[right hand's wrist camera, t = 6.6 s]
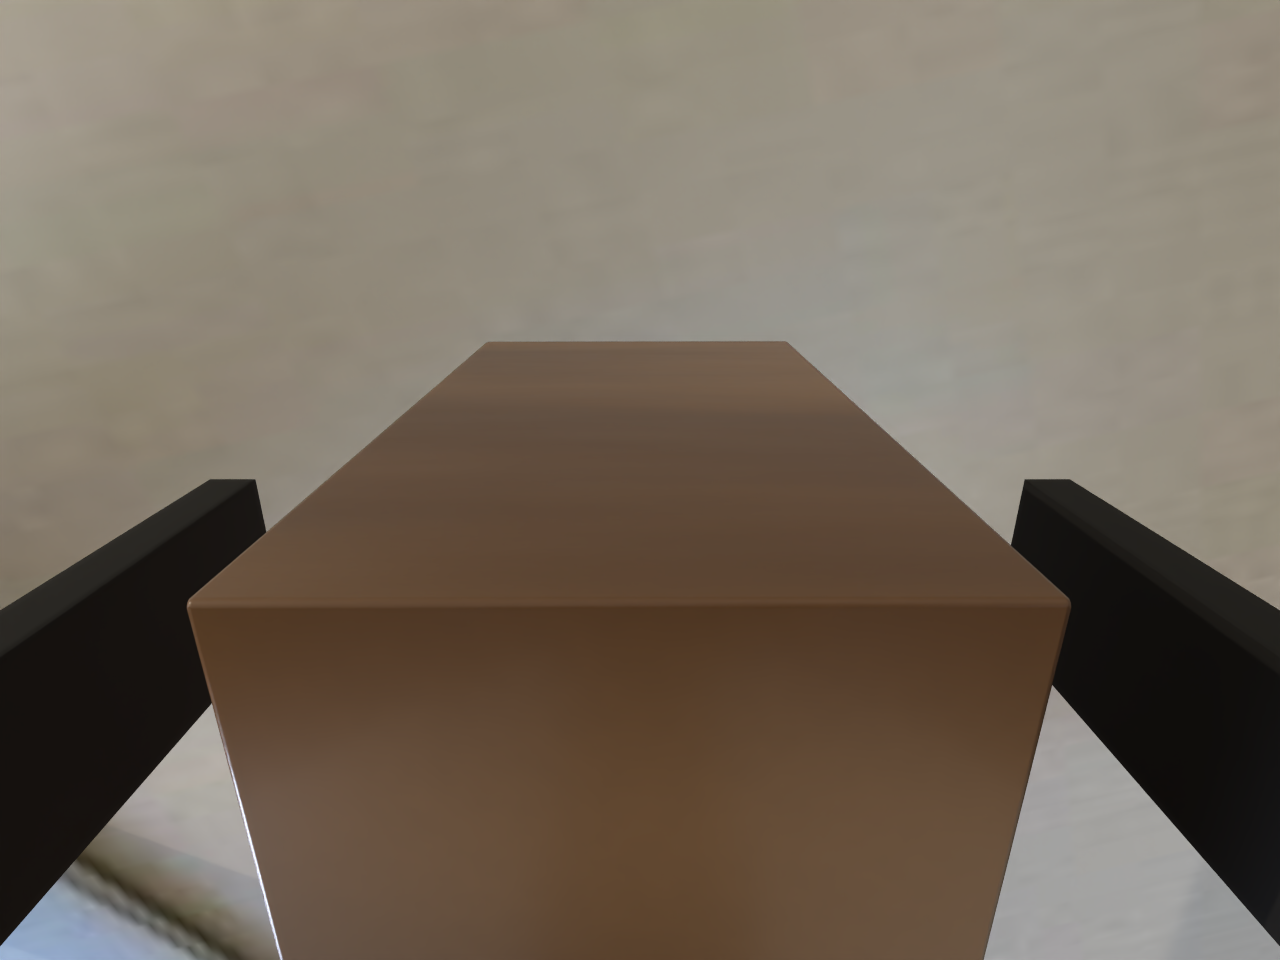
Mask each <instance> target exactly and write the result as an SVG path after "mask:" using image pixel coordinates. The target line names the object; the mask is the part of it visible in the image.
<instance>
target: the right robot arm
mask: <svg viewBox="0 0 1280 960" xmlns="http://www.w3.org/2000/svg"><path fill="white" fill-rule="evenodd" d="M265 533H266V529H265V524H264V519H263V514H262V509H261V505H260V500H259V495H258V490H257V485H256V480H255V479H210V480H208V481H207V482H205V483H204V484H202V485H200V486H199V487H197V488H196V489H194V490H192V491H191V492H189V493H188V494H186V495H184V496H183V497H181V498H180V499H178V500H176V501H175V502H173V503H172V504H170V505H168V506H167V507H165V508H164V509H162V510H160V511H159V512H157V513H156V514H154V515H152V516H151V517H149V518H148V519H146V520H144V521H143V522H141V523H140V524H138V525H136V526H135V527H133V528H132V529H130V530H128V531H127V532H125V533H124V534H122V535H120V536H119V537H117V538H116V539H114V540H112V541H111V542H109V543H108V544H106V545H104V546H103V547H101V548H100V549H98V550H96V551H95V552H93V553H92V554H90V555H88V556H87V557H85V558H84V559H82V560H80V561H79V562H77V563H76V564H74V565H72V566H71V567H69V568H68V569H66V570H64V571H63V572H61V573H59V574H58V575H56V576H55V577H53V578H51V579H50V580H48V581H47V582H45V583H43V584H42V585H40V586H39V587H37V588H35V589H34V590H32V591H31V592H29V593H27V594H26V595H24V596H23V597H21V598H19V599H18V600H16V601H15V602H13V603H11V604H10V605H8V606H7V607H5V608H3V609H2V610H0V946H1V945H2V944H3V942H4V941H5V940H6V939H7V938H8V937H9V936H10V934H11V933H12V932H13V931H14V930H15V929H16V927H17V926H18V925H19V924H20V923H21V922H22V921H23V919H24V918H25V917H26V916H27V915H28V914H29V913H30V911H31V910H32V909H33V908H34V907H35V906H36V904H37V903H38V902H39V901H40V900H41V899H42V898H43V896H44V895H45V894H46V893H47V892H48V891H49V890H50V888H51V887H52V886H53V885H54V884H55V883H56V882H57V880H58V879H59V878H60V877H61V876H62V875H63V873H64V872H65V871H66V870H67V869H68V868H69V867H70V865H71V864H72V863H73V862H74V861H75V860H76V859H77V857H78V856H79V855H80V854H81V853H82V852H83V850H84V849H85V848H86V847H87V846H88V845H89V844H90V842H91V841H92V840H93V839H94V838H95V837H96V836H97V834H98V833H99V832H100V831H101V830H102V829H103V828H104V826H105V825H106V824H107V823H108V822H109V821H110V819H111V818H112V817H113V816H114V815H115V814H116V813H117V811H118V810H119V809H120V808H121V807H122V806H123V805H124V803H125V802H126V801H127V800H128V799H129V798H130V797H131V795H132V794H133V793H134V792H135V791H136V790H137V788H138V787H139V786H140V785H141V784H142V783H143V782H144V780H145V779H146V778H147V777H148V776H149V775H150V774H151V772H152V771H153V770H154V769H155V768H156V767H157V765H158V764H159V763H160V762H161V761H162V760H163V759H164V757H165V756H166V755H167V754H168V753H169V752H170V751H171V749H172V748H173V747H174V746H175V745H176V744H177V743H178V741H179V740H180V739H181V738H182V737H183V736H184V734H185V733H186V732H187V731H188V730H189V729H190V728H191V726H192V725H193V724H194V723H195V722H196V721H197V720H198V718H199V717H200V716H201V715H202V714H203V713H204V711H205V710H206V709H207V708H208V707H209V706H210V705H211V703H212V701H211V698H210V694H209V690H208V686H207V683H206V679H205V675H204V671H203V668H202V664H201V660H200V656H199V652H198V649H197V645H196V641H195V637H194V634H193V630H192V626H191V622H190V619H189V615H188V611H187V602H188V600H189V599H190V598H191V597H192V596H193V595H194V594H195V593H197V592H198V591H199V590H200V589H201V588H202V587H204V586H205V585H206V584H207V583H208V582H209V581H210V580H212V579H213V578H214V577H215V576H216V575H217V574H219V573H220V572H221V571H222V570H223V569H224V568H226V567H227V566H228V565H229V564H230V563H231V562H233V561H234V560H235V559H236V558H237V557H238V556H240V555H241V554H242V553H243V552H244V551H245V550H246V549H248V548H249V547H250V546H251V545H252V544H253V543H255V542H256V541H257V540H258V539H259V538H260V537H262V536H263V535H264V534H265ZM1011 546H1012V547H1013V548H1014V549H1015V550H1016V551H1017V552H1019V553H1020V554H1021V555H1022V556H1023V557H1024V558H1025V559H1026V560H1027V561H1028V562H1030V563H1031V564H1032V565H1033V566H1034V567H1035V568H1036V569H1037V570H1038V571H1039V572H1041V573H1042V574H1043V575H1044V576H1045V577H1046V578H1047V579H1048V580H1049V581H1050V582H1052V583H1053V584H1054V585H1055V586H1056V587H1057V588H1058V589H1059V590H1060V591H1061V592H1062V593H1064V594H1065V595H1066V596H1067V597H1068V598H1069V600H1070V602H1071V611H1070V615H1069V619H1068V623H1067V627H1066V631H1065V635H1064V639H1063V643H1062V647H1061V651H1060V655H1059V659H1058V663H1057V667H1056V671H1055V675H1054V679H1053V683H1052V685H1053V686H1054V687H1055V688H1056V690H1057V691H1058V692H1059V693H1060V694H1061V695H1062V697H1063V698H1064V699H1065V700H1066V701H1067V702H1068V703H1069V705H1070V706H1071V707H1072V708H1073V709H1074V710H1075V711H1076V713H1077V714H1078V715H1079V716H1080V717H1081V718H1082V719H1083V721H1084V722H1085V723H1086V724H1087V725H1088V726H1089V728H1090V729H1091V730H1092V731H1093V732H1094V733H1095V734H1096V736H1097V737H1098V738H1099V739H1100V740H1101V741H1102V742H1103V744H1104V745H1105V746H1106V747H1107V748H1108V749H1109V751H1110V752H1111V753H1112V754H1113V755H1114V756H1115V757H1116V759H1117V760H1118V761H1119V762H1120V763H1121V764H1122V765H1123V767H1124V768H1125V769H1126V770H1127V771H1128V772H1129V773H1130V775H1131V776H1132V777H1133V778H1134V779H1135V780H1136V782H1137V783H1138V784H1139V785H1140V786H1141V787H1142V788H1143V790H1144V791H1145V792H1146V793H1147V794H1148V795H1149V796H1150V798H1151V799H1152V800H1153V801H1154V802H1155V803H1156V805H1157V806H1158V807H1159V808H1160V809H1161V810H1162V811H1163V813H1164V814H1165V815H1166V816H1167V817H1168V818H1169V819H1170V821H1171V822H1172V823H1173V824H1174V825H1175V826H1176V827H1177V829H1178V830H1179V831H1180V832H1181V833H1182V834H1183V836H1184V837H1185V838H1186V839H1187V840H1188V841H1189V842H1190V844H1191V845H1192V846H1193V847H1194V848H1195V849H1196V850H1197V852H1198V853H1199V854H1200V855H1201V856H1202V857H1203V859H1204V860H1205V861H1206V862H1207V863H1208V864H1209V865H1210V867H1211V868H1212V869H1213V870H1214V871H1215V872H1216V873H1217V875H1218V876H1219V877H1220V878H1221V879H1222V880H1223V881H1224V883H1225V884H1226V885H1227V886H1228V887H1229V888H1230V890H1231V891H1232V892H1233V893H1234V894H1235V895H1236V896H1237V898H1238V899H1239V900H1240V901H1241V902H1242V903H1243V904H1244V906H1245V907H1246V908H1247V909H1248V910H1249V911H1250V912H1251V914H1252V915H1253V916H1254V917H1255V918H1256V919H1257V921H1258V922H1259V923H1260V924H1261V925H1262V926H1263V927H1264V929H1265V930H1266V931H1267V932H1268V933H1269V934H1270V935H1271V937H1272V938H1273V939H1274V940H1275V941H1276V942H1277V944H1278V945H1279V946H1280V610H1278V609H1277V608H1275V607H1273V606H1272V605H1270V604H1269V603H1267V602H1265V601H1264V600H1262V599H1261V598H1259V597H1257V596H1256V595H1254V594H1253V593H1251V592H1249V591H1248V590H1246V589H1245V588H1243V587H1241V586H1240V585H1238V584H1237V583H1235V582H1233V581H1232V580H1230V579H1229V578H1227V577H1225V576H1224V575H1222V574H1221V573H1219V572H1217V571H1216V570H1214V569H1213V568H1211V567H1209V566H1208V565H1206V564H1205V563H1203V562H1201V561H1200V560H1198V559H1197V558H1195V557H1193V556H1192V555H1190V554H1188V553H1187V552H1185V551H1184V550H1182V549H1180V548H1179V547H1177V546H1176V545H1174V544H1172V543H1171V542H1169V541H1168V540H1166V539H1164V538H1163V537H1161V536H1160V535H1158V534H1156V533H1155V532H1153V531H1152V530H1150V529H1148V528H1147V527H1145V526H1144V525H1142V524H1140V523H1139V522H1137V521H1136V520H1134V519H1132V518H1131V517H1129V516H1128V515H1126V514H1124V513H1123V512H1121V511H1120V510H1118V509H1116V508H1115V507H1113V506H1112V505H1110V504H1108V503H1107V502H1105V501H1104V500H1102V499H1100V498H1099V497H1097V496H1096V495H1094V494H1092V493H1091V492H1089V491H1088V490H1086V489H1084V488H1083V487H1081V486H1080V485H1078V484H1076V483H1075V482H1073V481H1072V480H1070V479H1025V481H1024V485H1023V490H1022V495H1021V500H1020V505H1019V510H1018V514H1017V519H1016V524H1015V529H1014V534H1013V539H1012V543H1011Z"/></svg>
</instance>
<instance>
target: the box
mask: <svg viewBox="0 0 1280 960" xmlns="http://www.w3.org/2000/svg"><path fill="white" fill-rule="evenodd" d="M187 611H188V615H189V619H190V622H191V626H192V630H193V634H194V637H195V641H196V645H197V649H198V652H199V656H200V660H201V664H202V668H203V671H204V675H205V679H206V683H207V686H208V690H209V694H210V698H211V701H212V705H213V709H214V713H215V716H216V720H217V724H218V728H219V731H220V735H221V739H222V743H223V746H224V750H225V754H226V758H227V761H228V765H229V769H230V773H231V776H232V780H233V784H234V788H235V792H236V795H237V799H238V803H239V807H240V810H241V814H242V818H243V822H244V825H245V829H246V833H247V837H248V840H249V844H250V848H251V852H252V855H253V859H254V863H255V867H256V870H257V874H258V878H259V882H260V885H261V889H262V893H263V897H264V900H265V904H266V908H267V912H268V916H269V919H270V923H271V927H272V931H273V934H274V938H275V942H276V946H277V949H278V953H279V957H280V960H983V959H984V955H985V951H986V947H987V943H988V939H989V935H990V931H991V927H992V923H993V919H994V915H995V911H996V907H997V903H998V899H999V895H1000V891H1001V887H1002V883H1003V879H1004V875H1005V871H1006V867H1007V863H1008V859H1009V855H1010V851H1011V847H1012V843H1013V839H1014V835H1015V831H1016V827H1017V823H1018V819H1019V815H1020V811H1021V807H1022V803H1023V799H1024V795H1025V791H1026V787H1027V783H1028V779H1029V775H1030V771H1031V767H1032V763H1033V759H1034V755H1035V751H1036V747H1037V743H1038V739H1039V735H1040V731H1041V727H1042V723H1043V719H1044V715H1045V711H1046V707H1047V703H1048V699H1049V695H1050V691H1051V687H1052V683H1053V679H1054V675H1055V671H1056V667H1057V663H1058V659H1059V655H1060V651H1061V647H1062V643H1063V639H1064V635H1065V631H1066V627H1067V623H1068V619H1069V615H1070V611H1071V602H1070V600H1069V598H1068V597H1067V596H1066V595H1065V594H1064V593H1062V592H1061V591H1060V590H1059V589H1058V588H1057V587H1056V586H1055V585H1054V584H1053V583H1052V582H1050V581H1049V580H1048V579H1047V578H1046V577H1045V576H1044V575H1043V574H1042V573H1041V572H1039V571H1038V570H1037V569H1036V568H1035V567H1034V566H1033V565H1032V564H1031V563H1030V562H1028V561H1027V560H1026V559H1025V558H1024V557H1023V556H1022V555H1021V554H1020V553H1019V552H1017V551H1016V550H1015V549H1014V548H1013V547H1012V546H1011V545H1010V544H1009V543H1008V542H1006V541H1005V540H1004V539H1003V538H1002V537H1001V536H1000V535H999V534H998V533H997V532H995V531H994V530H993V529H992V528H991V527H990V526H989V525H988V524H987V523H986V522H984V521H983V520H982V519H981V518H980V517H979V516H978V515H977V514H976V513H975V512H973V511H972V510H971V509H970V508H969V507H968V506H967V505H966V504H965V503H964V502H962V501H961V500H960V499H959V498H958V497H957V496H956V495H955V494H954V493H953V492H951V491H950V490H949V489H948V488H947V487H946V486H945V485H944V484H943V483H942V482H940V481H939V480H938V479H937V478H936V477H935V476H934V475H933V474H932V473H931V472H929V471H928V470H927V469H926V468H925V467H924V466H923V465H922V464H921V463H920V462H918V461H917V460H916V459H915V458H914V457H913V456H912V455H911V454H910V453H909V452H907V451H906V450H905V449H904V448H903V447H902V446H901V445H900V444H899V443H898V442H896V441H895V440H894V439H893V438H892V437H891V436H890V435H889V434H888V433H887V432H885V431H884V430H883V429H882V428H881V427H880V426H879V425H878V424H877V423H876V422H874V421H873V420H872V419H871V418H870V417H869V416H868V415H867V414H866V413H865V412H863V411H862V410H861V409H860V408H859V407H858V406H857V405H856V404H855V403H854V402H852V401H851V400H850V399H849V398H848V397H847V396H846V395H845V394H844V393H843V392H841V391H840V390H839V389H838V388H837V387H836V386H835V385H834V384H833V383H832V382H830V381H829V380H828V379H827V378H826V377H825V376H824V375H823V374H822V373H821V372H819V371H818V370H817V369H816V368H815V367H814V366H813V365H812V364H811V363H810V362H808V361H807V360H806V359H805V358H804V357H803V356H802V355H801V354H800V353H799V352H797V351H796V350H795V349H794V348H793V347H792V346H791V345H790V344H789V343H788V342H785V341H747V342H487V343H486V344H484V345H483V346H482V347H481V348H480V349H479V350H477V351H476V352H475V353H474V354H473V355H472V356H471V357H469V358H468V359H467V360H466V361H465V362H464V363H462V364H461V365H460V366H459V367H458V368H457V369H455V370H454V371H453V372H452V373H451V374H450V375H448V376H447V377H446V378H445V379H444V380H443V381H441V382H440V383H439V384H438V385H437V386H436V387H435V388H433V389H432V390H431V391H430V392H429V393H428V394H426V395H425V396H424V397H423V398H422V399H421V400H419V401H418V402H417V403H416V404H415V405H414V406H412V407H411V408H410V409H409V410H408V411H407V412H406V413H404V414H403V415H402V416H401V417H400V418H399V419H397V420H396V421H395V422H394V423H393V424H392V425H390V426H389V427H388V428H387V429H386V430H385V431H383V432H382V433H381V434H380V435H379V436H378V437H376V438H375V439H374V440H373V441H372V442H371V443H370V444H368V445H367V446H366V447H365V448H364V449H363V450H361V451H360V452H359V453H358V454H357V455H356V456H354V457H353V458H352V459H351V460H350V461H349V462H347V463H346V464H345V465H344V466H343V467H342V468H341V469H339V470H338V471H337V472H336V473H335V474H334V475H332V476H331V477H330V478H329V479H328V480H327V481H325V482H324V483H323V484H322V485H321V486H320V487H318V488H317V489H316V490H315V491H314V492H313V493H311V494H310V495H309V496H308V497H307V498H306V499H305V500H303V501H302V502H301V503H300V504H299V505H298V506H296V507H295V508H294V509H293V510H292V511H291V512H289V513H288V514H287V515H286V516H285V517H284V518H282V519H281V520H280V521H279V522H278V523H277V524H275V525H274V526H273V527H272V528H271V529H270V530H269V531H267V532H266V533H265V534H264V535H263V536H262V537H260V538H259V539H258V540H257V541H256V542H255V543H253V544H252V545H251V546H250V547H249V548H248V549H246V550H245V551H244V552H243V553H242V554H241V555H240V556H238V557H237V558H236V559H235V560H234V561H233V562H231V563H230V564H229V565H228V566H227V567H226V568H224V569H223V570H222V571H221V572H220V573H219V574H217V575H216V576H215V577H214V578H213V579H212V580H210V581H209V582H208V583H207V584H206V585H205V586H204V587H202V588H201V589H200V590H199V591H198V592H197V593H195V594H194V595H193V596H192V597H191V598H190V599H189V600H188V602H187Z"/></svg>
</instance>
